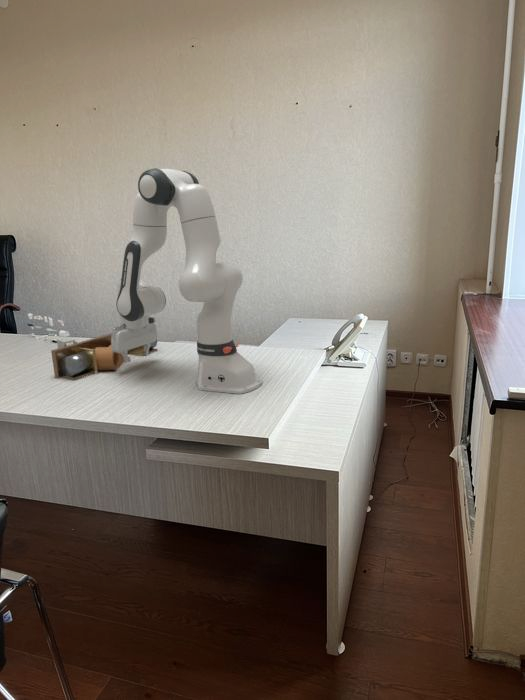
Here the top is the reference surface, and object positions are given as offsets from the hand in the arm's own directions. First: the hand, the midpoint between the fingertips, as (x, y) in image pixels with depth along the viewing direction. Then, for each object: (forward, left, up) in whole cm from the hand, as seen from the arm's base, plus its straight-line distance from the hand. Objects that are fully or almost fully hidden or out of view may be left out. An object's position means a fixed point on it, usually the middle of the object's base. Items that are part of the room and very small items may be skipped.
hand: (136, 358), depth 194 cm
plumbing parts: (+65, -12, -4) cm, 66 cm away
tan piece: (+8, +1, +1) cm, 8 cm away
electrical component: (+37, -3, -4) cm, 38 cm away
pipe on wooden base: (+12, 0, -3) cm, 13 cm away
